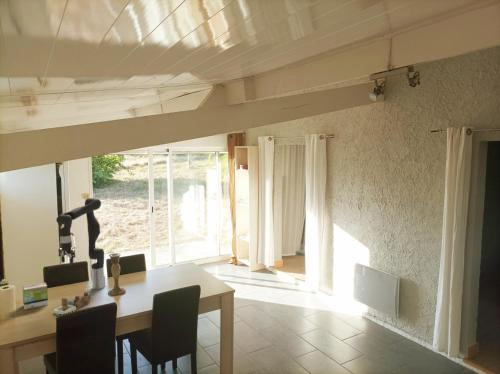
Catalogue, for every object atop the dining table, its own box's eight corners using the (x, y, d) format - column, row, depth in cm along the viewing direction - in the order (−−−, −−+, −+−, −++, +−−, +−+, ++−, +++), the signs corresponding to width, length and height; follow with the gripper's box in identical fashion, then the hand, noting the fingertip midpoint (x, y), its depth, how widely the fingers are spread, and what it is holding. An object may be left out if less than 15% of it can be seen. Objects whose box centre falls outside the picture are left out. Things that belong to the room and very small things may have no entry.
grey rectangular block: (78, 301, 274) (78, 296, 274) (85, 302, 272) (85, 297, 271) (67, 306, 265) (67, 301, 264) (75, 307, 262) (74, 302, 262)
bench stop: (87, 301, 272) (86, 291, 272) (90, 302, 271) (89, 292, 270) (73, 307, 261) (73, 297, 261) (76, 308, 260) (76, 297, 259)
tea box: (24, 310, 258) (23, 290, 257) (23, 305, 266) (22, 286, 265) (48, 305, 267) (47, 285, 266) (46, 300, 275) (45, 281, 274)
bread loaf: (65, 309, 257) (64, 297, 257) (69, 310, 256) (68, 297, 255) (60, 311, 254) (60, 299, 253) (64, 312, 253) (64, 299, 252)
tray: (66, 307, 262) (65, 304, 261) (76, 310, 258) (75, 306, 257) (53, 313, 252) (53, 309, 252) (64, 315, 248) (63, 311, 248)
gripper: (77, 241, 268) (78, 262, 270) (63, 239, 274) (64, 260, 276) (68, 243, 261) (70, 265, 263) (54, 241, 267) (56, 263, 269)
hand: (67, 262), depth 269 cm, fingers open, 8 cm apart
